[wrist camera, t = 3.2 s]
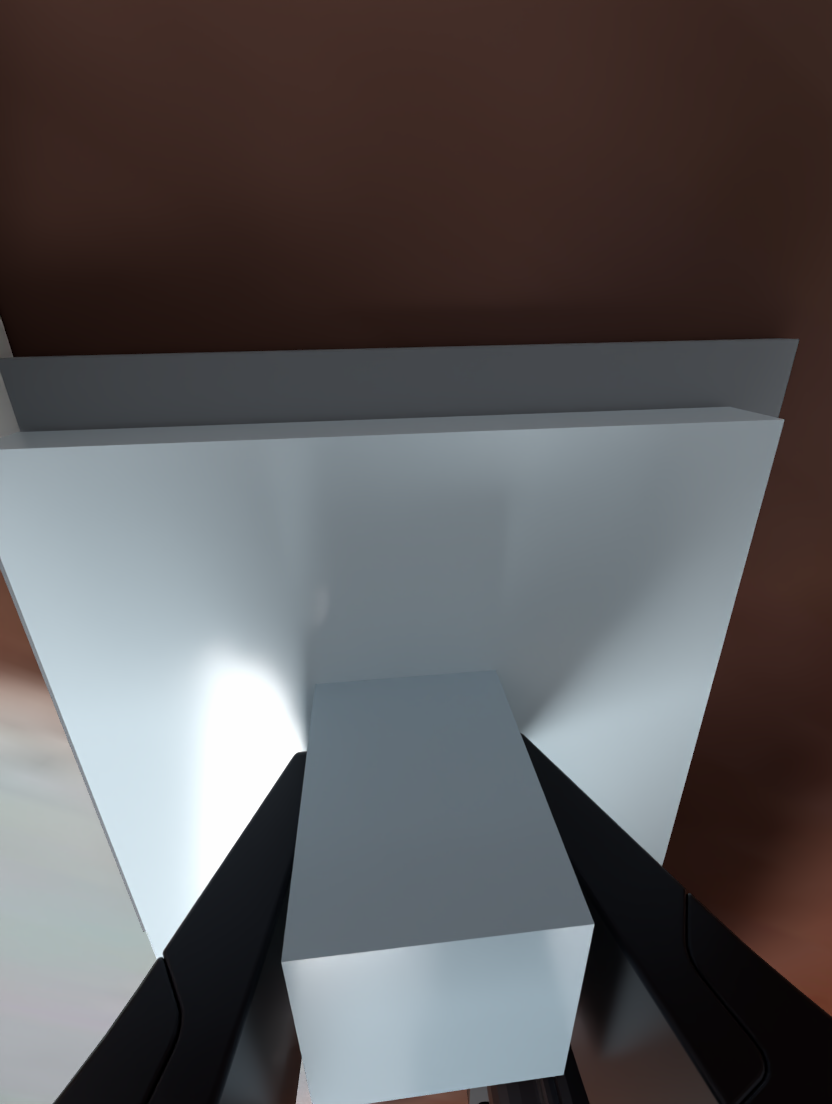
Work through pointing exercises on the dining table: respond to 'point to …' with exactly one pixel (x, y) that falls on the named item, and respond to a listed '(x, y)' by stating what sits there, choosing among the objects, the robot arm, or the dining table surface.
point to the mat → (386, 390)
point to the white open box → (3, 417)
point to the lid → (390, 688)
